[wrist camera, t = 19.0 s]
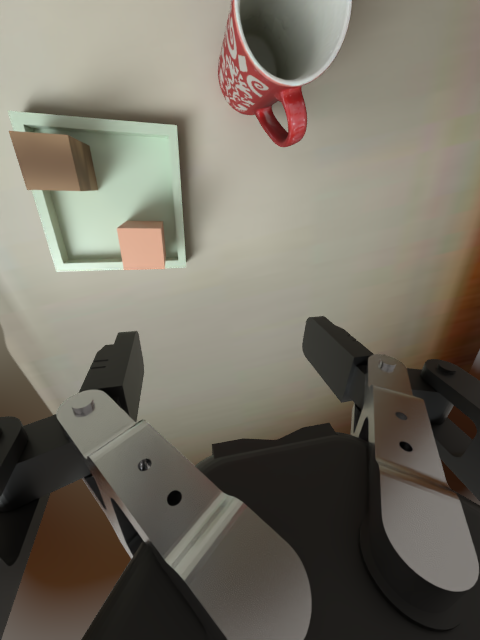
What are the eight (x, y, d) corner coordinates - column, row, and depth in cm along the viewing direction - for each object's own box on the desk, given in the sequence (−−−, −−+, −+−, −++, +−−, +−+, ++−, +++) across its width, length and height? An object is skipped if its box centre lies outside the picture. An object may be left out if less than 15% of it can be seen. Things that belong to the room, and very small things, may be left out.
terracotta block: (126, 220, 33) (116, 228, 27) (162, 221, 34) (160, 228, 28) (132, 255, 35) (123, 269, 29) (166, 255, 36) (164, 268, 30)
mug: (198, 29, 27) (217, -90, 15) (277, 11, 28) (353, -114, 16) (228, 164, 33) (257, 152, 22) (292, 147, 34) (354, 126, 23)
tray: (21, 117, 27) (7, 110, 25) (176, 129, 30) (176, 125, 28) (64, 266, 34) (56, 271, 32) (185, 262, 38) (186, 267, 36)
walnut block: (44, 142, 28) (8, 130, 22) (89, 145, 29) (67, 134, 23) (56, 189, 30) (27, 189, 24) (98, 190, 31) (80, 191, 25)
